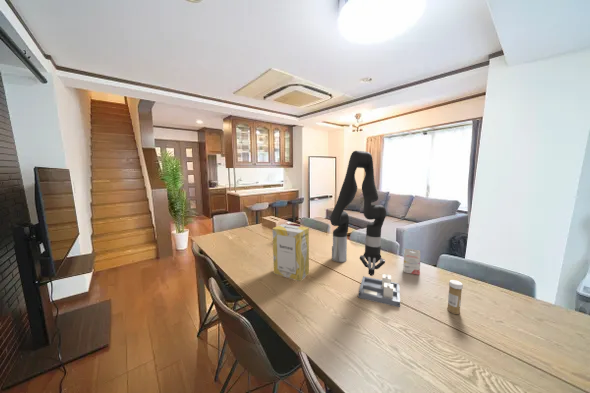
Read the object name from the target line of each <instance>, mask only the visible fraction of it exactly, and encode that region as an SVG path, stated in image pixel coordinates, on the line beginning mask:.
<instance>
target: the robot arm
mask: <svg viewBox="0 0 590 393" xmlns="http://www.w3.org/2000/svg"><path fill="white" fill-rule="evenodd" d="M348 160H349V161H348V165H347V167H346V168H347V170H346V173H345V176H344V180H343V183H342V186H341V187H340V188H341V189H340V192H339V195H338V197H337V200H336V203H335V205H334V208H333V210H332V212H331V215H330V218H329V219H330V224H331V225H332V226H333V227H336V228H335V229H333V231H332V246H331V261H334V262H335V263H346V261H347V259H348V258H347V255H348V254H347V250H348V242H347V241H348V232H349V225H350V223H349V222H350V217H349V214H348V213H347V211H346V210H345V209H346V208H347V207H348V206H349V205H350V204H351V203H352V202H353V201H354V199H355V198H356V195H357V193H358V192H357V191H358V185H357V181H356V172H357V169H358V168H359V169H364V172H365V175H364V178H363V181H362V183H361V193H362V196H363V216H364V217H365V219H366V220H373V222H369V223H367V224H366V229H365V230H366V232H365V240H364V241H365V245H364V252H363V255H360V256H359V260H360V262H361V263H362V265H363V266H364V267H365V268H367V269H368V275H369V276H371V277H373V276H374V275H375V270H379V268H382V266H383V265H385V263H386V260H385V258H383V257H382V255H381V250H382V248H381V247H382V227H383V224H384V222H385V219H386V216H387V210H386V207H384V205H382V204H381V205H380V204H376V205H373V204H372V203H376V202H377V201H378V200H379V193H378V191H377V187H376V182H375V173H374V161H373V160H374V158H373V156H372V154H371V152H369V151H362V150H354V151H352V153H351V154H350V158H349V159H348ZM344 210H345V211H344Z"/></svg>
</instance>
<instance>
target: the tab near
mask: <svg viewBox="0 0 590 393" xmlns="http://www.w3.org/2000/svg"><path fill="white" fill-rule="evenodd" d="M383 297H386V298H390V299H393V284H390V283H384V295H383Z"/></svg>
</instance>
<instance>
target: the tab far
mask: <svg viewBox="0 0 590 393" xmlns="http://www.w3.org/2000/svg"><path fill="white" fill-rule="evenodd" d="M381 280H382V288H384V283H390V284H391V282H392V275H391V274H385V273H382V277H381Z"/></svg>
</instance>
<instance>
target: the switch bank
mask: <svg viewBox="0 0 590 393" xmlns="http://www.w3.org/2000/svg"><path fill="white" fill-rule="evenodd" d="M391 284H393V299H390V298H386V297H383V295H384V288H382V279H379V278H374V277H368V276H362V279H361V283H360V285H359V290H358V296H357V297H358V298H359V299H362V300H366V301H369V302H370V301H371V302H376V303H380V304H383V305H388V306H392V307H398V308H401V294H400V293H401V292H400V291H401V289H400V282H395V281H391Z"/></svg>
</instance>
